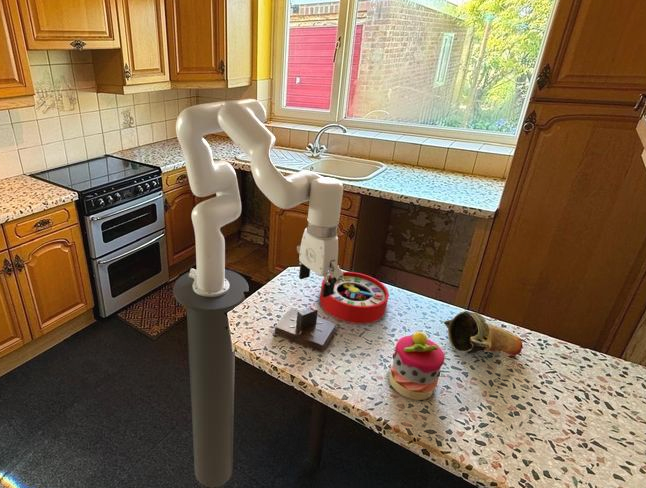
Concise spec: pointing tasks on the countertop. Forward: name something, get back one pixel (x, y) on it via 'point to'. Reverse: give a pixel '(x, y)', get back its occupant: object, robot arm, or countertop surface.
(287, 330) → the panel
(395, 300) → the countertop surface
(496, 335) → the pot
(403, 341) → the cake
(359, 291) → the toy clock
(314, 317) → the dial
